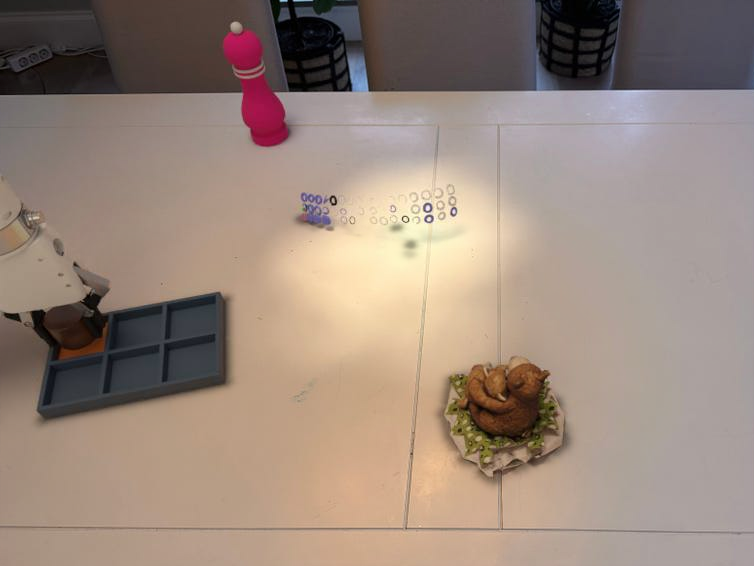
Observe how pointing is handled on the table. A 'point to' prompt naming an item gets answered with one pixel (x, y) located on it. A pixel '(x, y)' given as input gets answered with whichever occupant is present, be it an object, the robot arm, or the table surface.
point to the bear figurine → (503, 414)
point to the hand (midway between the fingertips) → (77, 333)
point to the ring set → (327, 220)
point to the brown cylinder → (67, 327)
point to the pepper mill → (255, 87)
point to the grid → (139, 357)
